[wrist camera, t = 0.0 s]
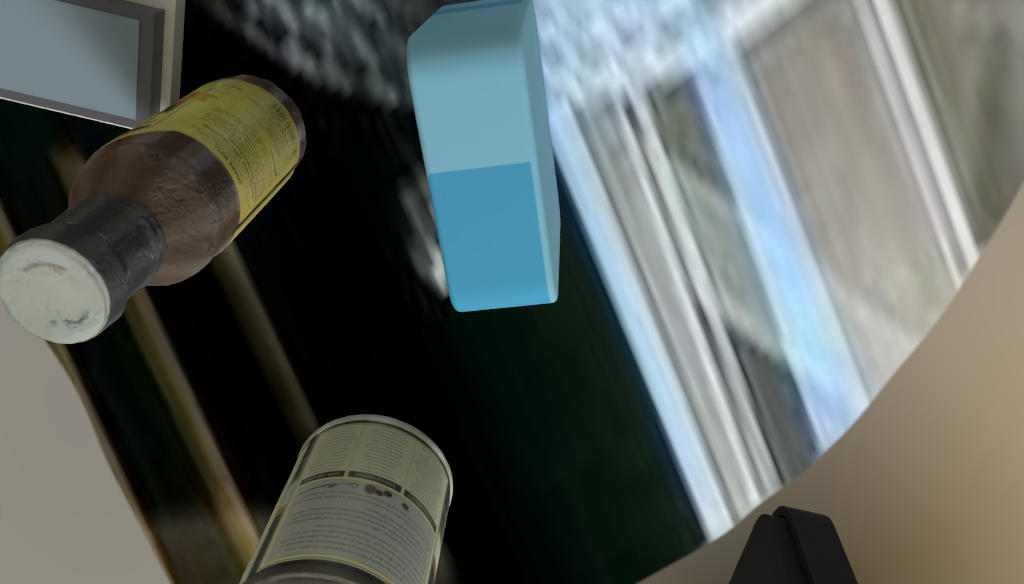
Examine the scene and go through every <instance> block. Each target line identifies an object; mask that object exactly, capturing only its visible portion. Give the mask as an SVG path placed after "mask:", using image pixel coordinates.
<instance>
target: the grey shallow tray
mask: <svg viewBox="0 0 1024 584" xmlns="http://www.w3.org/2000/svg"><path fill="white" fill-rule="evenodd" d="M126 1H130V2H135V3H139V4H143V5H147V6H151V7H155V8H160V9H164V10H165V22H164V42H163V62H162V82H161V102H160V112H161V111H163V110H165V109H166V108H167V107H168V106H171V105H173V104H174V103H176V102H177V101H179V98H180V82H181V65H182V48H183V31H184V14H185V0H126ZM0 98H2V97H0ZM2 99H6V98H2ZM6 100H11V99H6ZM11 101H15V100H11ZM15 102H19V101H15ZM19 103H23V102H19ZM23 104H28V103H23ZM28 105H32V104H28ZM32 106H36V105H32ZM36 107H40V106H36ZM40 108H45V107H40ZM45 109H49V108H45ZM49 110H53V109H49ZM53 111H57V112H62V111H58V110H53ZM62 113H66V112H62ZM66 114H70V113H66ZM70 115H75V114H70ZM75 116H79V115H75ZM79 117H83V116H79ZM83 118H87V117H83ZM87 119H92V118H87ZM92 120H96V119H92ZM96 121H100V120H96ZM100 122H104V121H100ZM104 123H109V122H104ZM109 124H113V123H109ZM113 125H117V124H113ZM117 126H121V127H126V126H122V125H117ZM126 128H130V127H126ZM130 129H132V128H130Z"/></svg>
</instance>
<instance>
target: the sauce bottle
mask: <svg viewBox="0 0 1024 584" xmlns="http://www.w3.org/2000/svg"><path fill="white" fill-rule="evenodd" d="M305 147H306V132H305V126H304V122H303V119H302V116H301V113H300V110H299V108H298V107H297V105H296V104H295V102H294V101H293V100H292V99H291V98H290V97H289V96H288V95H287V94H285V93H284V92H283V91H282V90H281V89H280V88H279V87H278V86H276V85H275V84H274V83H272V82H270V81H268V80H266V79H261V78H258V77H255V76H252V75H238V76H233V77H226V78H222V79H219V80H217V81H213V82H210V83H207V84H205V85H203V86H201V87H199V88H198V89H196V90H195V91H193V92H191V93H190V94H188V95H187V96H185V97H184V98H182V99H180V100H179V101H177V102H176V103H174V104H173V105H171V106H168V107H167V108H166V109H165V110H163V111H161V112H159V113H158V114H156V115H155V116H152V117H151V118H149V119H147V120H145V121H144V122H142V123H140V124H139V125H137V126H136V127H134V128H132V129H131V130H130V131H127V132H125V133H123V134H122V135H120V136H119V137H117V138H116V139H114V140H113V141H111V142H109V143H108V144H106V145H105V146H103V147H102V148H100V149H99V150H98V151H96V152H95V153H94V154H93V155H92V156H91V157H90V159H89V160H88V161H87V162H86V164H85V165H84V167H83V169H82V170H81V172H80V173H79V175H78V176H77V177H76V178H75V180H74V184H73V186H72V189H71V193H70V196H69V208H68V209H67V210H66V211H65V212H64V213H62V214H61V215H60V216H58V217H57V218H56V219H55V220H53V221H52V222H51V223H49V224H44V225H41V226H38V227H36V228H32V229H30V230H28V231H27V232H25V233H23V234H22V235H20V236H18V237H16V238H15V239H13V240H12V242H11V243H10V244H9V245H8V246H7V247H6V248H5V250H4V251H3V253H2V254H1V256H0V298H1V300H2V302H3V304H4V306H5V309H6V311H7V313H8V314H9V315H10V316H11V317H12V318H13V319H14V320H15V321H16V322H17V323H18V324H20V325H21V326H22V327H23V328H25V329H26V330H28V331H29V332H31V333H32V334H34V335H36V336H38V337H41V338H44V339H46V340H49V341H51V342H55V343H64V344H72V343H79V342H84V341H87V340H89V339H91V338H93V337H95V336H97V335H98V334H100V333H101V332H102V331H103V330H104V329H106V328H107V327H108V326H109V325H110V324H112V323H113V322H115V321H116V320H117V319H118V318H119V317H120V316H121V315H122V313H123V311H124V309H125V308H126V305H127V300H128V299H129V298H130V297H131V296H132V295H133V294H134V293H135V292H136V291H137V290H139V289H140V288H143V287H145V286H146V285H149V286H161V285H165V286H167V285H171V284H175V283H179V282H181V281H183V280H185V279H187V278H189V277H190V276H192V275H194V274H196V273H197V272H199V271H200V270H201V269H202V268H204V267H205V265H207V264H208V263H209V262H210V261H211V260H212V258H213V257H214V256H216V255H217V254H218V253H220V252H221V251H222V250H223V249H224V248H226V247H227V246H228V244H229V243H230V242H231V241H232V240H233V239H234V238H235V237H236V236H237V235H238V234H239V233H240V232H241V231H242V229H243V228H244V227H245V226H246V225H247V224H248V223H249V222H250V221H251V220H252V219H253V218H254V217H255V215H256V214H257V213H258V212H259V211H260V210H261V209H262V208H263V207H264V206H265V205H266V203H267V202H268V201H269V200H270V199H271V198H272V197H273V196H274V195H275V194H276V193H277V191H278V190H279V189H280V188H281V187H282V186H283V185H284V184H285V183H286V181H287V180H288V179H289V178H290V177H291V175H292V174H293V172H294V169H295V168H296V166H297V165H298V163H299V162H300V160H301V158H302V157H303V155H304V152H305Z"/></svg>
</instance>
